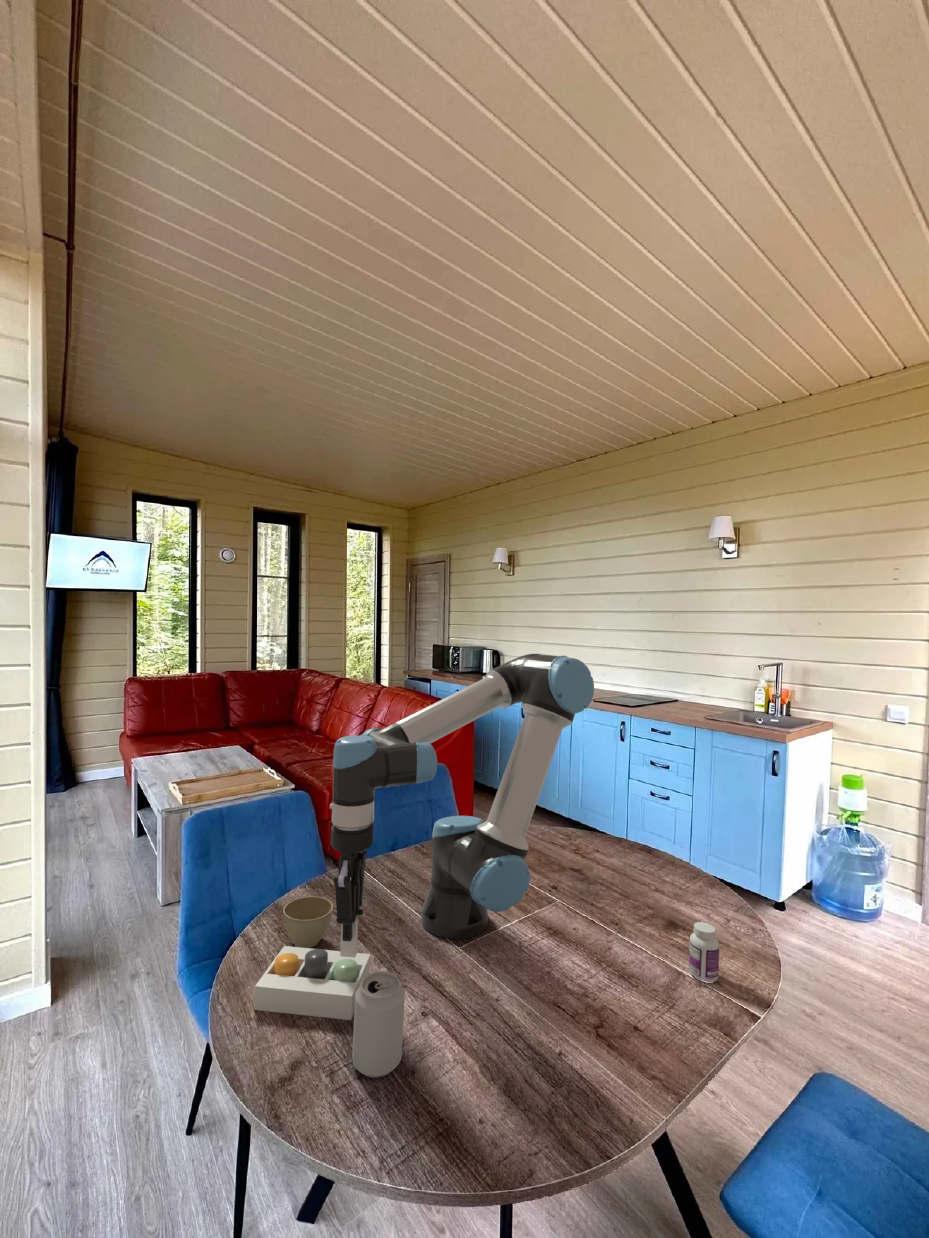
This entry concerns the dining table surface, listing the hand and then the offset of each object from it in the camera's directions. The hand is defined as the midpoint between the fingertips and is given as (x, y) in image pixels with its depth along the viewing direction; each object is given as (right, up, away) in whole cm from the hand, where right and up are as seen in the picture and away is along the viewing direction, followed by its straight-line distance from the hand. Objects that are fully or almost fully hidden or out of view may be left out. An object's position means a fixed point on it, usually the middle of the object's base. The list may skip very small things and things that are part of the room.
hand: (348, 954), depth 98 cm
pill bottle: (+68, -11, +10) cm, 70 cm away
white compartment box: (-6, -7, 0) cm, 9 cm away
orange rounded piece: (-12, -5, +1) cm, 13 cm away
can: (+7, -7, -15) cm, 18 cm away
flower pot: (-12, -7, +15) cm, 21 cm away
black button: (-6, -4, 0) cm, 7 cm away
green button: (-1, -6, 0) cm, 6 cm away
